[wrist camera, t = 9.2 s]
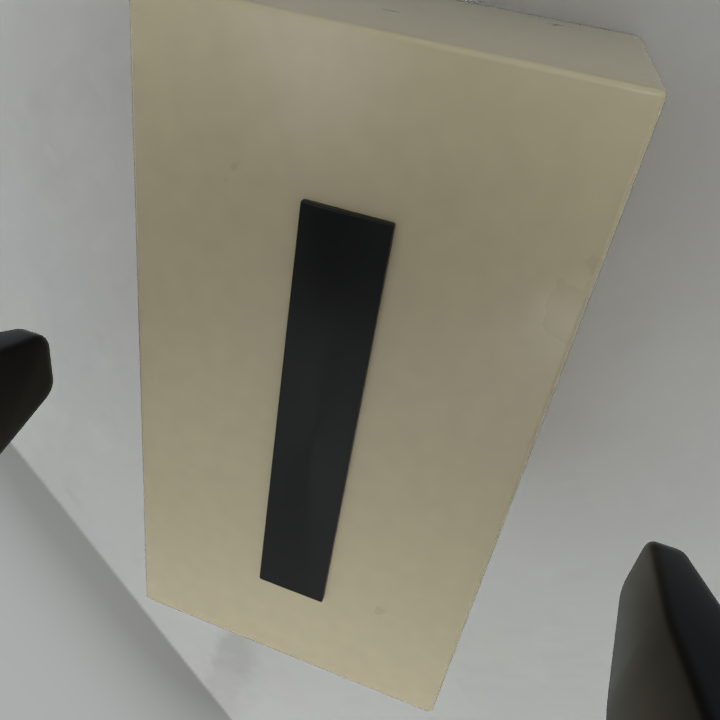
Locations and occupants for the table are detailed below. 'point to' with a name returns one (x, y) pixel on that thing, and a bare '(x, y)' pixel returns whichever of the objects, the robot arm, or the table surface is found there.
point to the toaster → (361, 302)
